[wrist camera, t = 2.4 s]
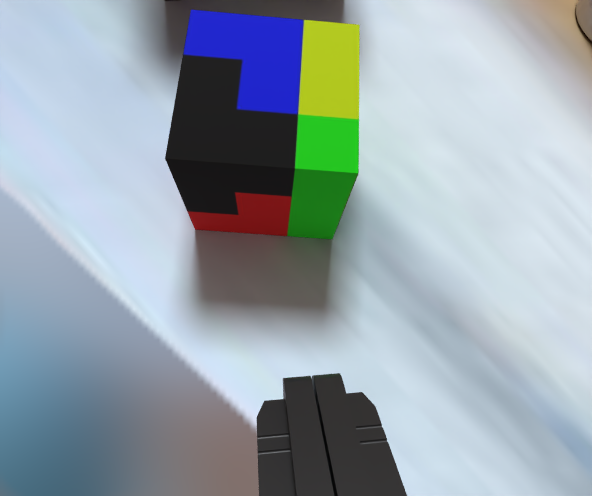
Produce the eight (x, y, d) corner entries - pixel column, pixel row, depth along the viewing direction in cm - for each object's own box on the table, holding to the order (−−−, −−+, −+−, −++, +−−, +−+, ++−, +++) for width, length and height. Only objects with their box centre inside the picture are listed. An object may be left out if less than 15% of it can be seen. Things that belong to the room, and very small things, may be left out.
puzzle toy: (211, 113, 35) (190, 9, 26) (335, 123, 36) (359, 24, 26) (195, 229, 32) (165, 158, 23) (332, 239, 33) (358, 173, 23)
